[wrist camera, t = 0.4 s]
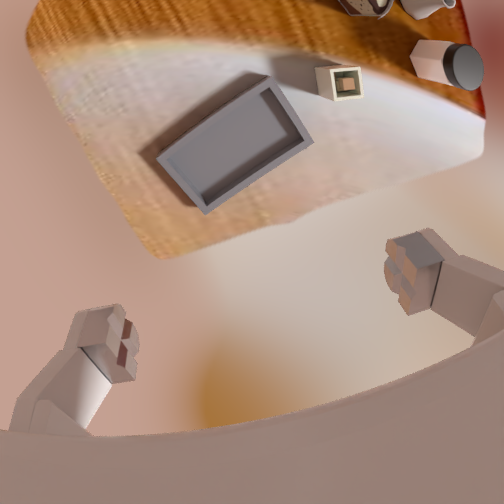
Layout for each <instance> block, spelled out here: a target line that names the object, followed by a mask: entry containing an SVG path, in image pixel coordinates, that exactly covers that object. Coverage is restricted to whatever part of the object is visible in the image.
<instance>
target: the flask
mask: <svg viewBox="0 0 504 504" xmlns="http://www.w3.org/2000/svg"><path fill="white" fill-rule="evenodd" d="M400 1H401V3H402V5H403V7H404V10H405V11H406V12H407V13H408V14H409V15H411V16H412V17H413V18H415V19H416V20H419V19H422V18H426V17H428V16H429V15H430V14H432V13H433V12H434V11H436V10H437V9H439V8H441V7H447V8H452V7H454V6H455V3H456V1H455V0H400Z"/></svg>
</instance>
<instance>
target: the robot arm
mask: <svg viewBox="0 0 504 504" xmlns="http://www.w3.org/2000/svg"><path fill="white" fill-rule="evenodd" d="M386 252H387V253H388V255H389V257H388V258H387V260H386V261H385V264H384V274H385V279H386V282H387V284H388V286H389V287H390V289H391V291H392V292H395V293H397V294H399V299H398V302H399V303H400V305H401V306H402V308H403V309H404V311H405V312H406V314H407V315H408V316H409V315H412V314H415V313H418V312H421V311H424V310H427V309H430V308H431V310H432V311H434V312H436V313H437V314H439V315H441V316H442V317H444V318H445V319H447V320H449V321H450V322H452V323H454V324H455V325H457V326H458V327H460V328H461V329H463V330H465V331H467V332H468V333H469V334H471V335H473V336H474V337H475V338H474V341H473V342H472V345H471V347H470V348H468V349H466V350H464V351H462V352H460V353H458V354H456V355H453V356H451V357H449V358H447V359H445V360H443V361H440V362H438V363H436V364H434V365H431V366H429V367H427V368H424V369H422V370H420V371H417V372H415V373H413V374H410V375H407V376H405V377H402V378H400V379H397V380H395V381H392V382H389V383H387V384H384V385H381V386H378V387H375V388H373V389H370V390H367V391H364V392H361V393H358V394H355V395H352V396H349V397H346V398H342V399H339V400H336V401H332V402H329V403H325V404H322V405H318V406H314V407H311V408H307V409H303V410H300V411H295V412H291V413H287V414H283V415H279V416H274V417H269V418H265V419H260V420H255V421H250V422H244V423H239V424H233V425H227V426H221V427H214V428H208V429H201V430H192V431H184V432H174V433H163V434H150V435H132V436H94V435H92V434H91V433H89V432H88V431H87V430H86V428H87V426H88V424H89V422H90V421H91V419H92V418H93V416H94V414H95V413H96V411H97V409H98V408H99V406H100V404H101V403H102V401H103V399H104V398H105V396H106V395H107V393H108V391H109V390H110V388H111V386H112V384H113V383H121V382H127V381H134V380H135V379H136V369H137V362H136V360H135V359H134V356H135V355H136V354H137V353H138V351H139V337H138V333H137V330H136V328H135V326H134V325H133V323H132V322H130V321H129V320H127V319H125V316H126V312H125V310H124V309H123V307H122V306H121V305H120V304H113V305H108V306H102V307H97V308H91V309H87V310H82V311H78V312H77V313H76V314H75V316H74V319H73V322H72V325H71V327H70V330H69V333H68V336H67V339H66V342H65V345H64V348H63V350H60V351H59V352H58V353H57V354H56V355H55V356H54V357H53V358H52V359H51V360H50V361H49V363H48V364H47V365H46V366H45V367H44V368H43V369H42V370H41V371H40V373H39V374H38V375H37V376H36V377H35V378H34V379H33V381H32V382H31V383H30V384H29V385H28V386H27V387H26V389H25V390H24V391H23V392H22V393H21V394H20V396H19V397H18V398H17V401H16V404H15V408H14V412H13V415H12V419H11V423H10V427H9V431H7V430H0V504H504V271H503V270H500V269H498V268H495V267H493V266H490V265H488V264H485V263H483V262H480V261H477V260H475V259H472V258H470V257H467V256H465V255H460V256H458V254H457V253H456V252H455V251H454V250H453V249H452V248H451V247H450V246H449V245H448V244H447V243H446V242H445V241H444V240H443V239H442V238H441V237H440V236H439V235H438V234H437V233H436V232H435V231H434V230H433V229H430V228H426V229H423V230H419V231H416V232H414V233H410V234H406V235H403V236H399V237H395V238H392V239H388V240H387V243H386Z"/></svg>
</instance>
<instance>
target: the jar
mask: <svg viewBox="0 0 504 504" xmlns="http://www.w3.org/2000/svg"><path fill="white" fill-rule="evenodd" d="M410 59H411V61H412V64H413V66H414V69H415V71H416V74H417V76H418V78H422V79H427V80H431V81H435V82H439V83H443V84H447V85H451V86H455V87H457V88H461V89H464V90H468V91H472V90H475V89H477V88H478V87H479V86H480V84H481V82H482V80H483V75H484V66H483V62H482V59H481V57H480V55H479V53H478V52H477V51H476V49H474V48H473V47H472V46H470V45H466V44H458V43H453V42H448V41H436V40H419V41H418V42H417V44H416V46H415V48H414V49H413V51H412V53H411V54H410Z"/></svg>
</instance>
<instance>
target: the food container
mask: <svg viewBox="0 0 504 504" xmlns="http://www.w3.org/2000/svg"><path fill="white" fill-rule="evenodd" d="M338 1H339V2H340V3H341V5H342V6H343V7H344V9H345V10H346V11H347V12H348V14H349V15H350V16H380V17H379V18H378V20H379V19H380V18H382V17H383V16H385V15H386V14H387V13H388V11H389V10H390V8H391V6H392V4H393V1H394V0H338Z"/></svg>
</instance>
